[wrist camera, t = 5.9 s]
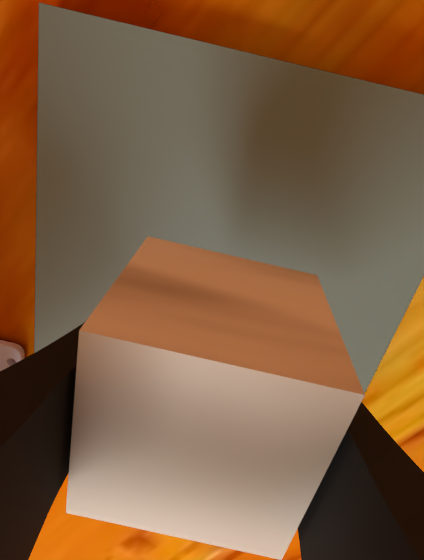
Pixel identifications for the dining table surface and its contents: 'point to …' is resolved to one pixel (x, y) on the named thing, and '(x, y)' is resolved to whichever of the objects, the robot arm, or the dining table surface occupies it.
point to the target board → (222, 172)
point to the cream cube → (208, 399)
